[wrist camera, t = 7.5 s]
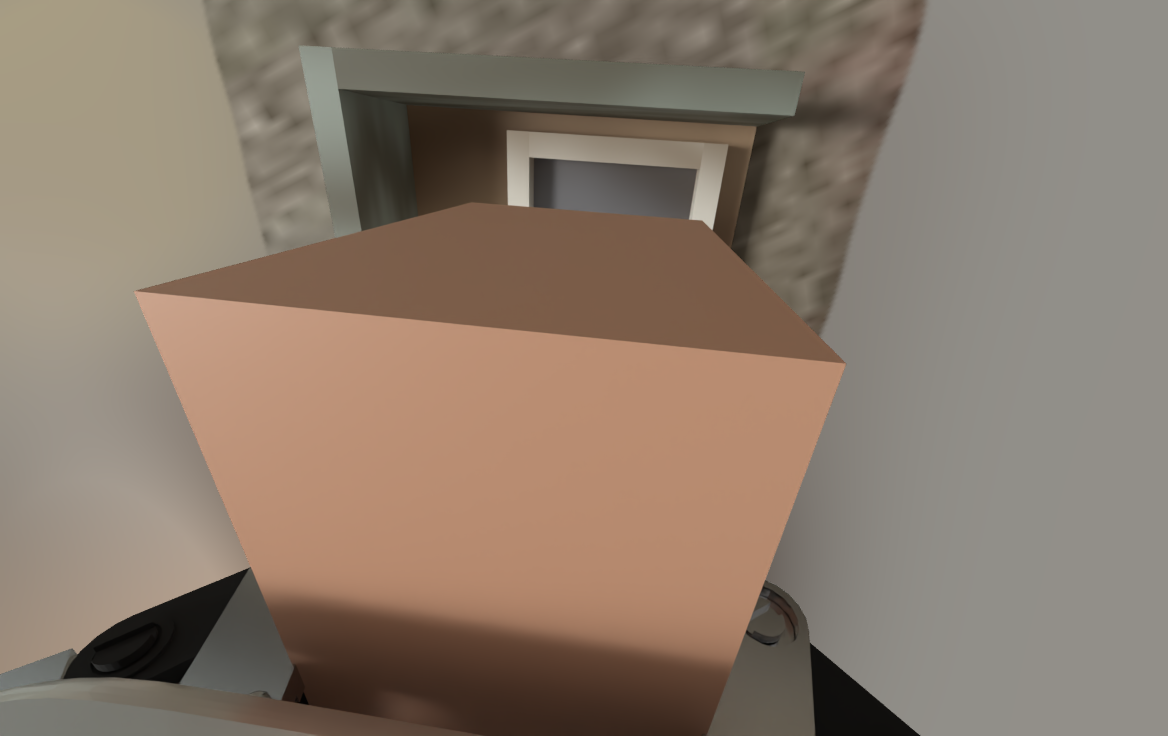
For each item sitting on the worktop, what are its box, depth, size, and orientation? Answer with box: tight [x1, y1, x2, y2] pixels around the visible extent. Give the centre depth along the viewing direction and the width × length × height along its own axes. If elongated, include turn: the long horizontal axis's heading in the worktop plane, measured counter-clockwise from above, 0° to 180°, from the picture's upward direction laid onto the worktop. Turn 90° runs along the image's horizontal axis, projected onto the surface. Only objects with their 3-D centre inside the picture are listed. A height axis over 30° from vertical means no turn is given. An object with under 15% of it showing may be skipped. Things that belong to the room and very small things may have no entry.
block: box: [134, 202, 846, 736], centre depth 9 cm, size 12×5×7 cm, turn 176°
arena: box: [299, 46, 805, 248], centre depth 22 cm, size 22×17×6 cm
